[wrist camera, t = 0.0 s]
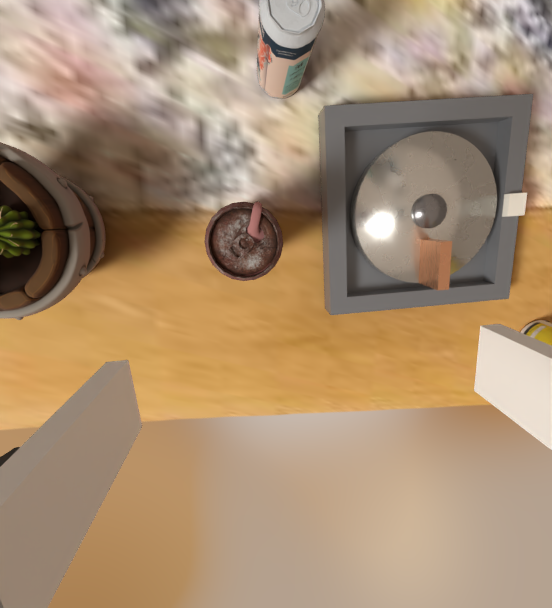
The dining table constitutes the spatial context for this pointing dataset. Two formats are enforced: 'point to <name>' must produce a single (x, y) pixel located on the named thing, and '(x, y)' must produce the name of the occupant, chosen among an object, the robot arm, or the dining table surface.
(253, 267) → the can
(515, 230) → the dial plate
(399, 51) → the dining table surface
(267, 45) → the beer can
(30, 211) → the flowerpot
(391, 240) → the dial
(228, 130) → the dining table surface
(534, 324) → the supplement bottle
